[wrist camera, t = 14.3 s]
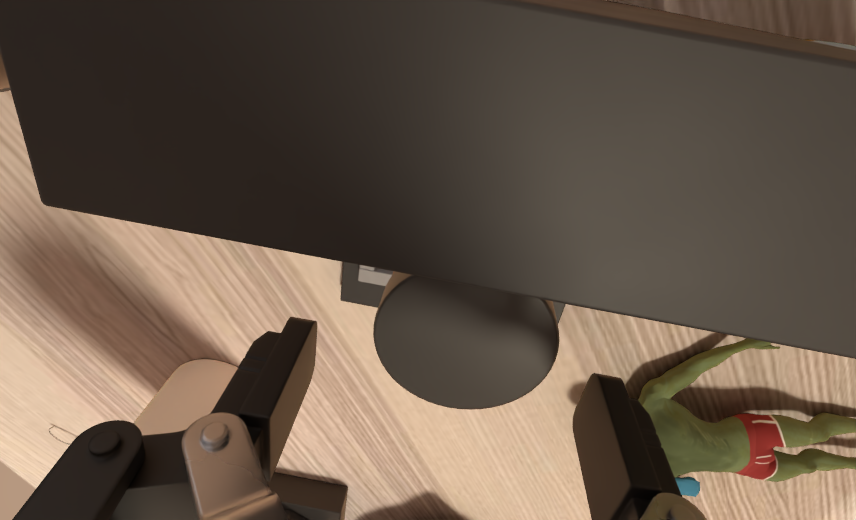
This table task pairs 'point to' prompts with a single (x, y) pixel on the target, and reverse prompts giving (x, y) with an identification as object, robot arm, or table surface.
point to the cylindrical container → (186, 396)
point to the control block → (309, 498)
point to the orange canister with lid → (463, 341)
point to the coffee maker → (466, 147)
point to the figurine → (736, 431)
